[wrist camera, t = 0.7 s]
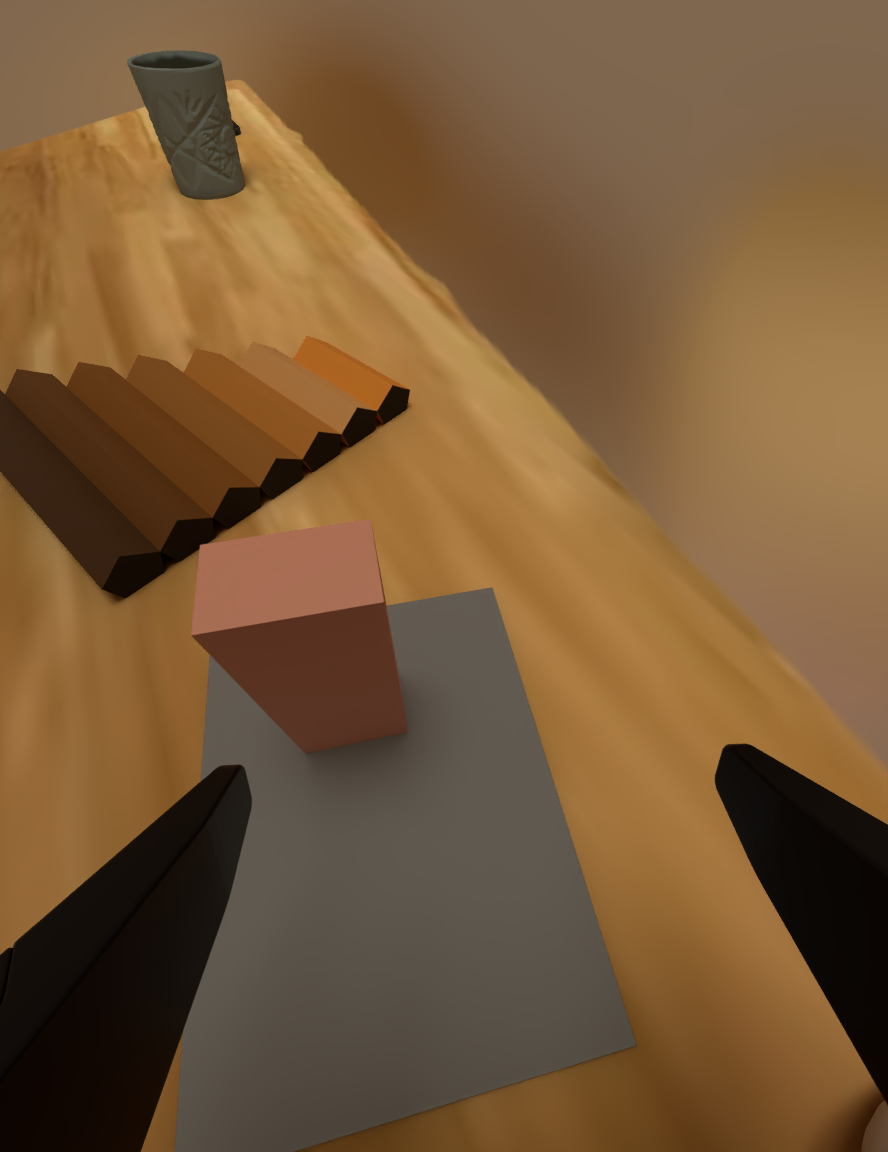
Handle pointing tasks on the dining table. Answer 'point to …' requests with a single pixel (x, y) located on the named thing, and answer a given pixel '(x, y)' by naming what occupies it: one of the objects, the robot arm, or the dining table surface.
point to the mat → (394, 909)
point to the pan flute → (179, 447)
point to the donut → (877, 1131)
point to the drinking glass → (191, 120)
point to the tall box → (304, 631)
